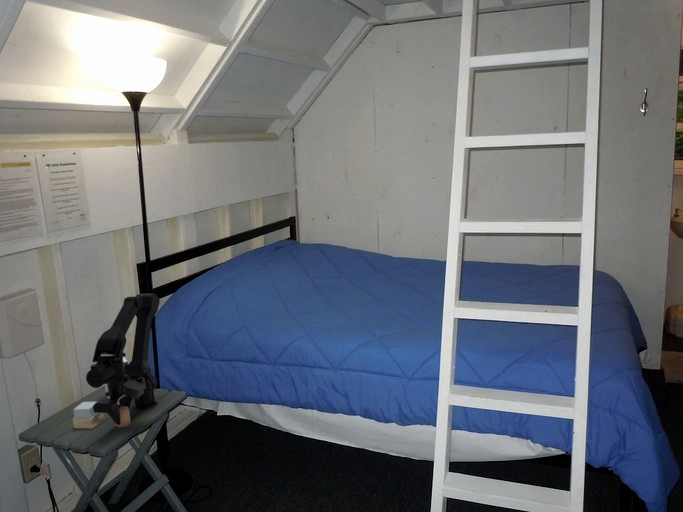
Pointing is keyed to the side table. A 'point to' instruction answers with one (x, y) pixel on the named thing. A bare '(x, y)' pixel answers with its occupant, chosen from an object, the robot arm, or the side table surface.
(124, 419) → the terracotta rounded cylinder
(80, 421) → the oak base block
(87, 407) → the grey-blue top block
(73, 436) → the side table surface
